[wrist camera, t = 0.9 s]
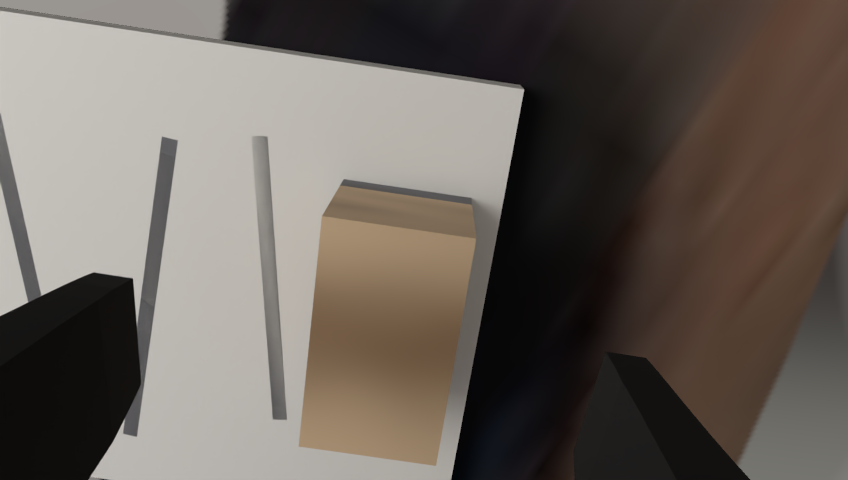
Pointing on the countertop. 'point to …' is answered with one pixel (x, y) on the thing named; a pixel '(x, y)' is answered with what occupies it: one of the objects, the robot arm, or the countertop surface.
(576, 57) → the countertop surface
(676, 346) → the countertop surface
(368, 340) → the cork block
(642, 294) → the countertop surface
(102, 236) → the board
